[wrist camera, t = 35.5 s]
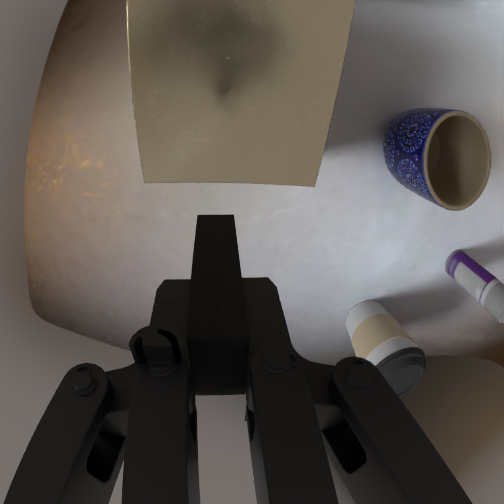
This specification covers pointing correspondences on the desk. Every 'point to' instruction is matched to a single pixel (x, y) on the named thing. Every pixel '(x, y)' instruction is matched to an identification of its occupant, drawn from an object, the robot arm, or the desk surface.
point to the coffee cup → (386, 346)
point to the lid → (235, 87)
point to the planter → (439, 155)
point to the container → (477, 282)
